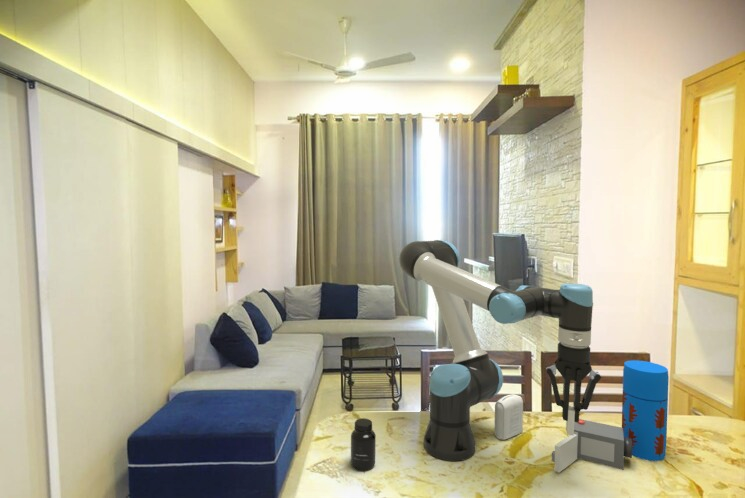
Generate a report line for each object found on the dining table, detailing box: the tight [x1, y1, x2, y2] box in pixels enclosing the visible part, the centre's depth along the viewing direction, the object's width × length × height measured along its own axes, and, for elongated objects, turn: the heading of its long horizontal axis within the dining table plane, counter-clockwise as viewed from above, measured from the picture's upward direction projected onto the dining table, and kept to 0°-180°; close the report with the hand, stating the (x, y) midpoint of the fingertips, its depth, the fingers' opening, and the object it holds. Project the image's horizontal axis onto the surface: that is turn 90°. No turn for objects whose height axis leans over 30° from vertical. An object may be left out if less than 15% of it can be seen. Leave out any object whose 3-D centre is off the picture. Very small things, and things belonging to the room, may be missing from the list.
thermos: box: [621, 359, 670, 462], centre depth 116 cm, size 11×11×25 cm
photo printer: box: [494, 394, 524, 441], centre depth 126 cm, size 10×4×12 cm, turn 123°
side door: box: [551, 432, 579, 474], centre depth 109 cm, size 11×2×8 cm, turn 128°
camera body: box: [574, 418, 633, 471], centre depth 113 cm, size 15×8×9 cm, turn 61°
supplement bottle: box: [350, 417, 377, 472], centre depth 110 cm, size 7×7×12 cm
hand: (569, 432), depth 105 cm, fingers closed
